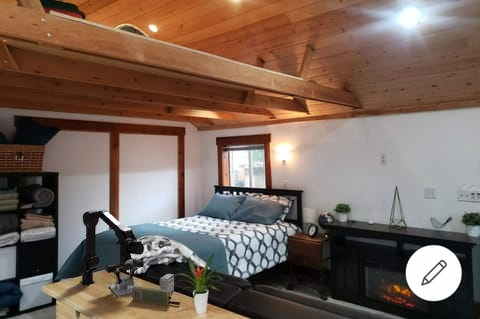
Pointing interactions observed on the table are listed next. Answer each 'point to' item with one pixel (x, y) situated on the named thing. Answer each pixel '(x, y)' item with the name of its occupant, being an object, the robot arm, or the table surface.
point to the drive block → (125, 281)
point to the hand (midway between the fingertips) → (124, 282)
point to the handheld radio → (152, 295)
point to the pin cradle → (121, 289)
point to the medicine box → (167, 282)
